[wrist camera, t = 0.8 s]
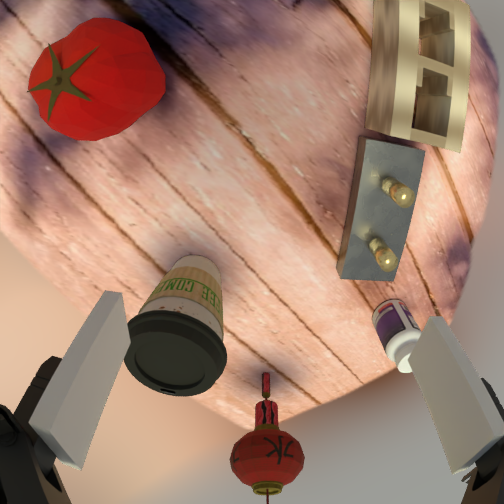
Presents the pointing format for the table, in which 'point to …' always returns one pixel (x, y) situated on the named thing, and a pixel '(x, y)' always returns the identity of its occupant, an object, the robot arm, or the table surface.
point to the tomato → (96, 80)
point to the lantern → (267, 451)
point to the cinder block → (420, 70)
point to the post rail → (379, 209)
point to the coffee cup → (180, 331)
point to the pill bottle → (396, 332)
